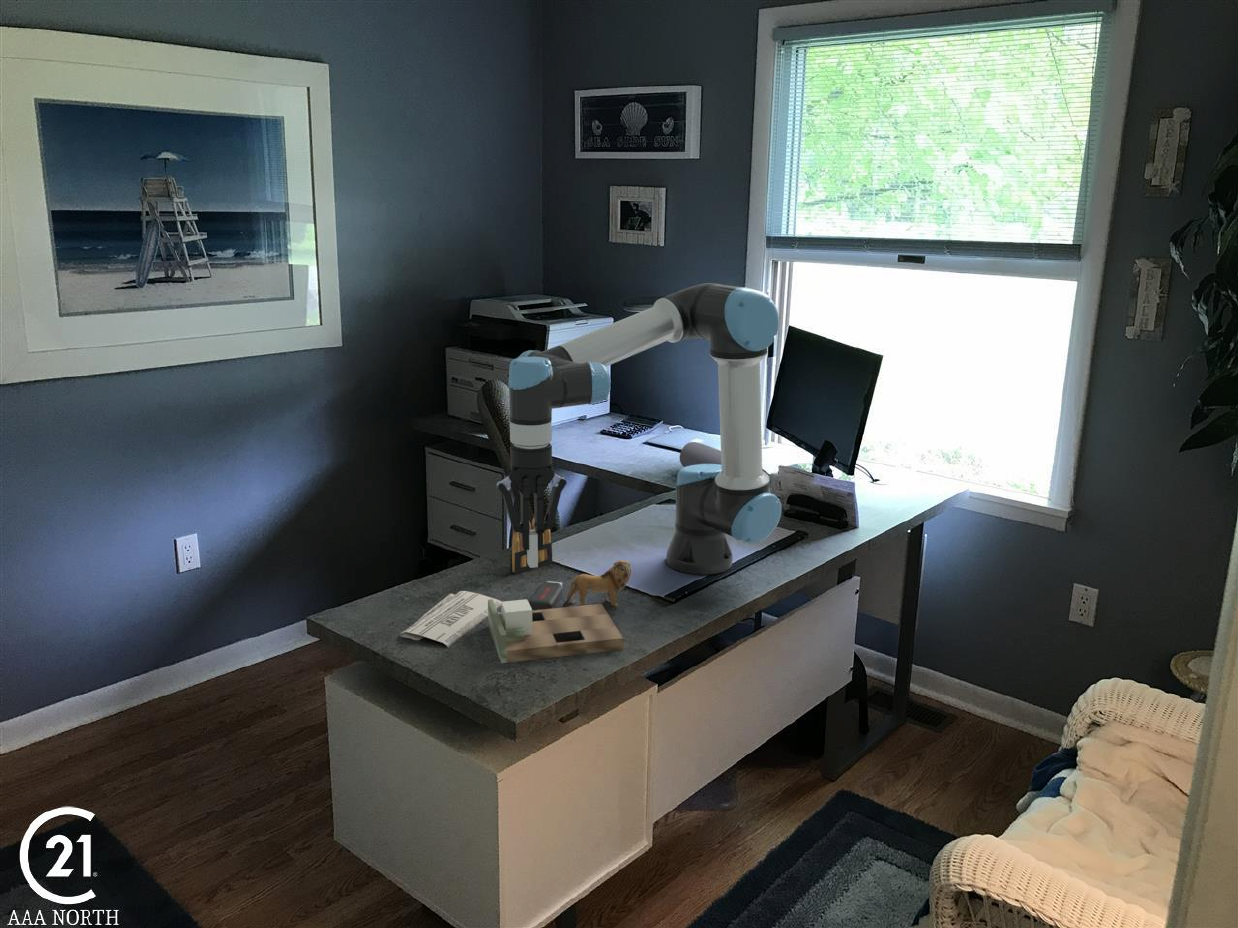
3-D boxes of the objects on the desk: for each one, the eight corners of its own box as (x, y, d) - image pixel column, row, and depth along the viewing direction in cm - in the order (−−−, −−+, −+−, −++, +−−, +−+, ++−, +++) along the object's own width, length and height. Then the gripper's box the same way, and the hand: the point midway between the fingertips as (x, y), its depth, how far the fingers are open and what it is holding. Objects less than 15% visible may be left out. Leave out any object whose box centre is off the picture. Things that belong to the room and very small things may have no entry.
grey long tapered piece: (748, 490, 286) (750, 456, 283) (722, 495, 281) (723, 461, 279) (703, 470, 305) (704, 438, 302) (677, 474, 300) (678, 441, 297)
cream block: (527, 623, 195) (527, 599, 194) (532, 634, 190) (532, 609, 189) (501, 625, 194) (501, 601, 192) (506, 637, 189) (505, 612, 188)
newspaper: (452, 596, 214) (452, 585, 213) (502, 612, 210) (503, 601, 209) (389, 639, 194) (390, 628, 193) (444, 657, 190) (445, 645, 189)
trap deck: (601, 614, 205) (601, 589, 204) (622, 649, 190) (623, 622, 189) (488, 626, 199) (487, 599, 197) (501, 663, 184) (500, 635, 183)
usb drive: (526, 612, 206) (526, 599, 206) (542, 589, 218) (542, 577, 217) (551, 614, 205) (551, 602, 205) (566, 591, 217) (566, 579, 216)
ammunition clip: (515, 574, 224) (514, 523, 221) (510, 572, 226) (509, 521, 222) (552, 563, 231) (552, 513, 228) (547, 560, 233) (547, 511, 229)
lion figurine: (625, 594, 215) (626, 555, 212) (634, 604, 210) (635, 564, 208) (559, 603, 210) (559, 563, 208) (567, 613, 205) (567, 572, 203)
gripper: (561, 436, 188) (562, 554, 194) (491, 440, 184) (494, 560, 191) (570, 446, 181) (571, 569, 188) (498, 451, 177) (501, 575, 184)
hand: (532, 564), depth 189 cm, fingers closed
